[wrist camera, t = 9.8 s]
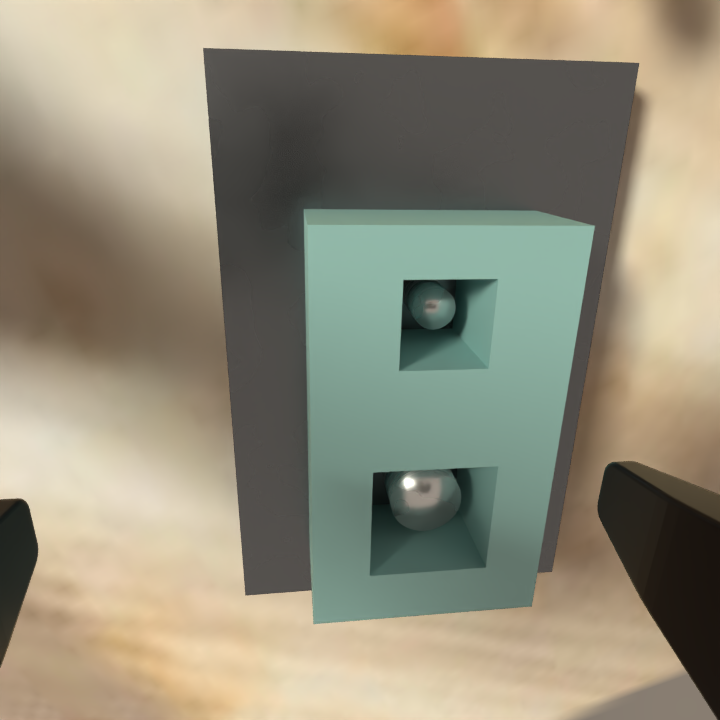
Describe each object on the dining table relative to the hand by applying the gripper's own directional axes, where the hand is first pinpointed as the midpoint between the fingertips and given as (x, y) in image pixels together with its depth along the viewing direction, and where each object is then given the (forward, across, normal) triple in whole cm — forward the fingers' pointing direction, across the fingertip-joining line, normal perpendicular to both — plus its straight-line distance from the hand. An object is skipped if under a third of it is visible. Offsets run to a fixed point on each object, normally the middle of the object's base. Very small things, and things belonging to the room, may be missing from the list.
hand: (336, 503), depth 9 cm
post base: (+11, -4, +2) cm, 11 cm away
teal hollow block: (+9, -4, +2) cm, 10 cm away
